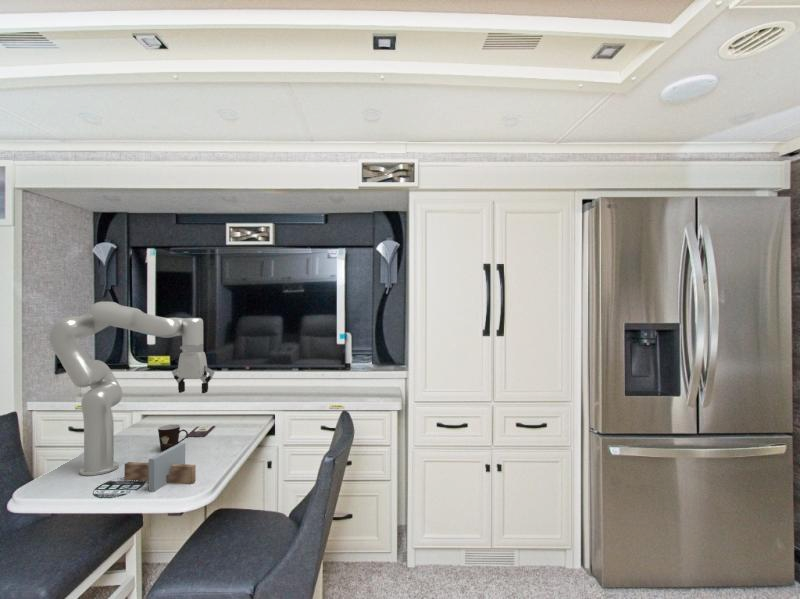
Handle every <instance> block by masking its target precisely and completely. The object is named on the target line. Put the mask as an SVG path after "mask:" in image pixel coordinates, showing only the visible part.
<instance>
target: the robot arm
mask: <svg viewBox="0 0 800 599" xmlns="http://www.w3.org/2000/svg"><path fill="white" fill-rule="evenodd" d="M110 326H111V327H113V328H114V327H115V328H121V329H125V330H130V331H132V332H137V333H140V334H143V335H149V336H153V337H158V338H164V339H166V338H167V339H168V338H175V337H178V336H179V337H180V336H182V345H180V347H179V349H180V350H181V353H179V354H180V355H179V358H178V364H177V365H178V366H177V368H175V369H173V370H172V371H171V374H172V376H173V378H174V380H175V381H176V383H177V384H178V386H177V389H178V394H181V393H184V392H185V391H186V388H185V387H186V382H185V380H186V379H193V380H196V379H198V380H199V379H200V381H201V382H202V383H201V394H206V393H208V391H209V382H210V381H211V380H212V379H213V377H214V374H215V371H214V370H213V369H211V368H210V367H208V363H207V362H208V361H207V356H206V353H205V351H204V320H203V318H201V317H186V318H182V317H163V316H159V315H153V314H149V313H145V312H144V311H142V310H141V309H139V308H136V307H131V306H125V305H123V304H122V305H121V304H120V303H117V302H115V301H97V302H95V303H94V304H92V305H91V306H90V307H89V309H88V312H86V314H83V315H79V316H78V315H77V316H74V315H73V316H66V317H63V318H61V319H59V320H58V321H56V322H55V323H54V325H53V326H52V327H51V329H50V331H49V335H48V340H49V344H50V346H51V348H52V350H53V352H54V353H55V355H56V356H57V358H58V359H59V361H60V363H61V366H62V367H63V368H64V370H65V371H66V373H67V375H68V377H69V378H70V380H71V382H72V384H74V386H76V387H77V388H88V387H89V388H90V389H89V390H88V391H87V392H86V393H84V395H83V397H82V399H81V401H80V402H81V403H80V404H81V411H82V416H83V447H84V448H83V461H84V462H83V465H84V466H82V467H81V468H79V470H78V474H79V475H82V476H98V475H103V474H106V473H110V472H113V471H114V470H117V469H118V468H119V463H118V462H117V461H115V459H114V453H115V452H114V451H115V450H114V447H115V446H114V443H115V442H114V440H115V439H114V438H115V437H114V432H115V430H114V428H115V427H114V424H115V423H114V416H113V411H112V408H113V407H115V406H116V405H118V404H119V403H120V402H121V400H122V399H123V396H124V395H123V390H122V387H121V386H120V384H119V382H118V380H117V379H116V377H115V375H114V374H113V372H112V370H111V368H110V367H109V366H108V364H106V363H105V362H104V361H102V360H99V359H91V358H90V357H89V355H88V353H87V351H86V350H85V348H84V347H83V346H82V345H81V344H80V343H79V342H78V340H77V339H81V338H84V339H85V338H88V337H90V336H93V335H95V334H97V333H98V332H101V331H102V330H104V329H106V328H108V327H110ZM207 375H208V376H207Z"/></svg>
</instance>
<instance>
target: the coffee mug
mask: <svg viewBox="0 0 800 599" xmlns="http://www.w3.org/2000/svg"><path fill="white" fill-rule="evenodd" d="M157 431H158V439H159V446H160V453H161V452H163V451H165V450H167V449H169V448H171V447H173V446H175V445H177V444H179V443H182V442H183V441H185V440H186V437H187V436H188V434H189V432H188V431H187V430H186V429H181V425H180V424H176V423H175V424H174V423H173V424H164V425H161V426H158V428H157ZM181 432H184V433H185V434H186V435H185V436H186V437H185V436H184V437H183V438H182V439H181V440H179V438H180V434H181Z"/></svg>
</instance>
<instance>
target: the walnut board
mask: <svg viewBox="0 0 800 599" xmlns="http://www.w3.org/2000/svg"><path fill="white" fill-rule="evenodd" d="M196 478H197V476H196V464H186V463H185V464H174V465H172V466H171V473H170V474H168V475H167V476H166V484H185V485H188V484H189V485H193V484H195V483H196V482H195V481H196V480H197V479H196ZM125 480H131V481H130V482H141V481H148V482H147V483H149V462H139V461H138V462H135V461H128V462H126V463H124V481H125ZM132 480H133V481H132ZM134 480H135V481H134ZM136 480H138V481H136Z"/></svg>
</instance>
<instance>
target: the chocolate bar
mask: <svg viewBox="0 0 800 599" xmlns="http://www.w3.org/2000/svg"><path fill="white" fill-rule="evenodd" d="M215 428H216V425H205V426H202V425H201V426H200V425H199V426H196V427H194V429H193V430H191V431H189V432H188V436H187V437H186V435H185V436H184V438H185V437H186V438H187V439H189V438H188V437H194V438H205V437H206V436H208V434H210V433H211V432H212V431H213V430H214V429H215ZM186 438H185V439H186Z"/></svg>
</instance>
